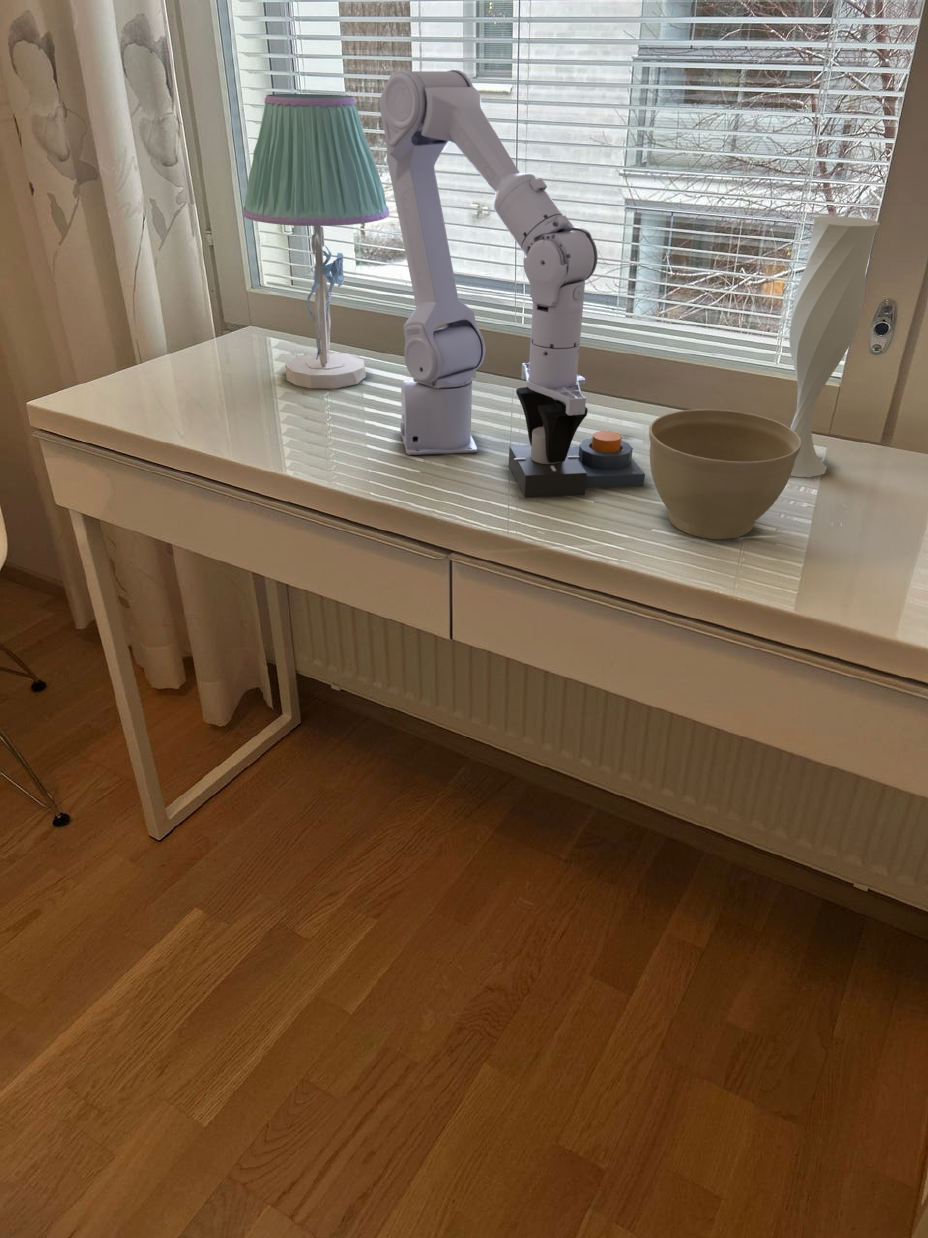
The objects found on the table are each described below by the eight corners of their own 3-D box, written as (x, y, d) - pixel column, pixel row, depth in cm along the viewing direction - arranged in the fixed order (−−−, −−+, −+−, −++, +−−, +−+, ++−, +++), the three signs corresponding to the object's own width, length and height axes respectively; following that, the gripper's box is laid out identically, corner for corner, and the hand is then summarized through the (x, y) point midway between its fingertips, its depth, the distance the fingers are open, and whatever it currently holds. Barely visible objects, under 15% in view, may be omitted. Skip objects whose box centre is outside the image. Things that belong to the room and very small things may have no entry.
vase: (791, 481, 119) (846, 228, 104) (746, 458, 125) (791, 217, 110) (841, 470, 123) (901, 224, 107) (794, 448, 129) (845, 213, 113)
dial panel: (587, 495, 114) (589, 471, 112) (521, 498, 113) (522, 474, 111) (567, 464, 122) (569, 441, 121) (505, 467, 121) (506, 444, 120)
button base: (643, 486, 117) (647, 460, 115) (585, 489, 116) (587, 462, 114) (620, 456, 125) (622, 431, 123) (565, 458, 124) (567, 433, 122)
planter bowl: (634, 490, 115) (645, 405, 110) (768, 498, 114) (786, 412, 109) (642, 550, 102) (655, 455, 96) (794, 559, 101) (816, 464, 95)
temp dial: (566, 463, 115) (569, 434, 113) (534, 464, 114) (536, 435, 112) (558, 451, 118) (561, 423, 116) (527, 452, 117) (529, 424, 115)
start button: (623, 453, 117) (625, 440, 117) (595, 454, 117) (597, 441, 116) (615, 443, 120) (616, 430, 120) (588, 444, 120) (589, 431, 119)
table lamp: (387, 399, 143) (380, 101, 123) (245, 396, 143) (214, 97, 123) (397, 359, 162) (393, 94, 141) (272, 356, 162) (249, 90, 141)
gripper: (614, 356, 104) (602, 471, 111) (561, 324, 116) (553, 430, 123) (556, 361, 102) (547, 477, 109) (508, 328, 114) (503, 435, 121)
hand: (547, 453), depth 116 cm, fingers open, 5 cm apart
